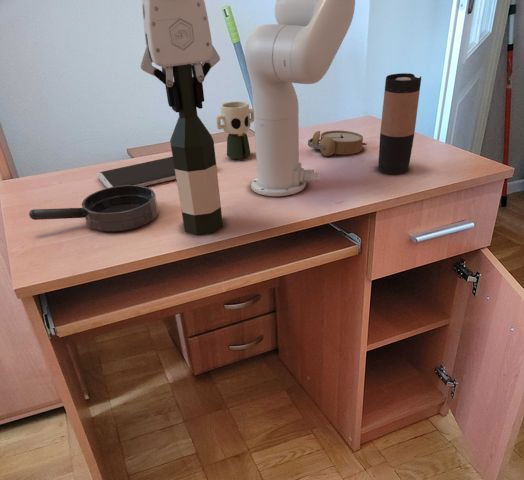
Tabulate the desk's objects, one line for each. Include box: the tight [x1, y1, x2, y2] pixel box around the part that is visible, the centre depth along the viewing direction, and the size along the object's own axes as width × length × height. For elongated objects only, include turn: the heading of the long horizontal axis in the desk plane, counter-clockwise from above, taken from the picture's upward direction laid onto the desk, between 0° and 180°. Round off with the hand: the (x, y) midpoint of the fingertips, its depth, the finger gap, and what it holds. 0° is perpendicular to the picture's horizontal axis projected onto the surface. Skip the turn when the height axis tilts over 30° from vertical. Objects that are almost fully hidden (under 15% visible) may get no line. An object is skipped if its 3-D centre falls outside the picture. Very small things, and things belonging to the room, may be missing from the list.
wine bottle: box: [169, 64, 224, 236], centre depth 92 cm, size 8×8×30 cm
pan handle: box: [28, 207, 85, 221], centre depth 101 cm, size 11×2×4 cm, turn 113°
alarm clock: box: [307, 130, 368, 157], centre depth 132 cm, size 11×5×15 cm
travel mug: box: [377, 72, 422, 176], centre depth 114 cm, size 8×8×20 cm
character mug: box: [216, 100, 254, 160], centre depth 129 cm, size 11×7×13 cm, turn 122°
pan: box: [81, 185, 159, 233], centre depth 105 cm, size 15×15×4 cm
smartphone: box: [97, 156, 176, 189], centre depth 125 cm, size 13×27×2 cm, turn 118°
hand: (187, 107), depth 87 cm, fingers closed on wine bottle, 3 cm apart
